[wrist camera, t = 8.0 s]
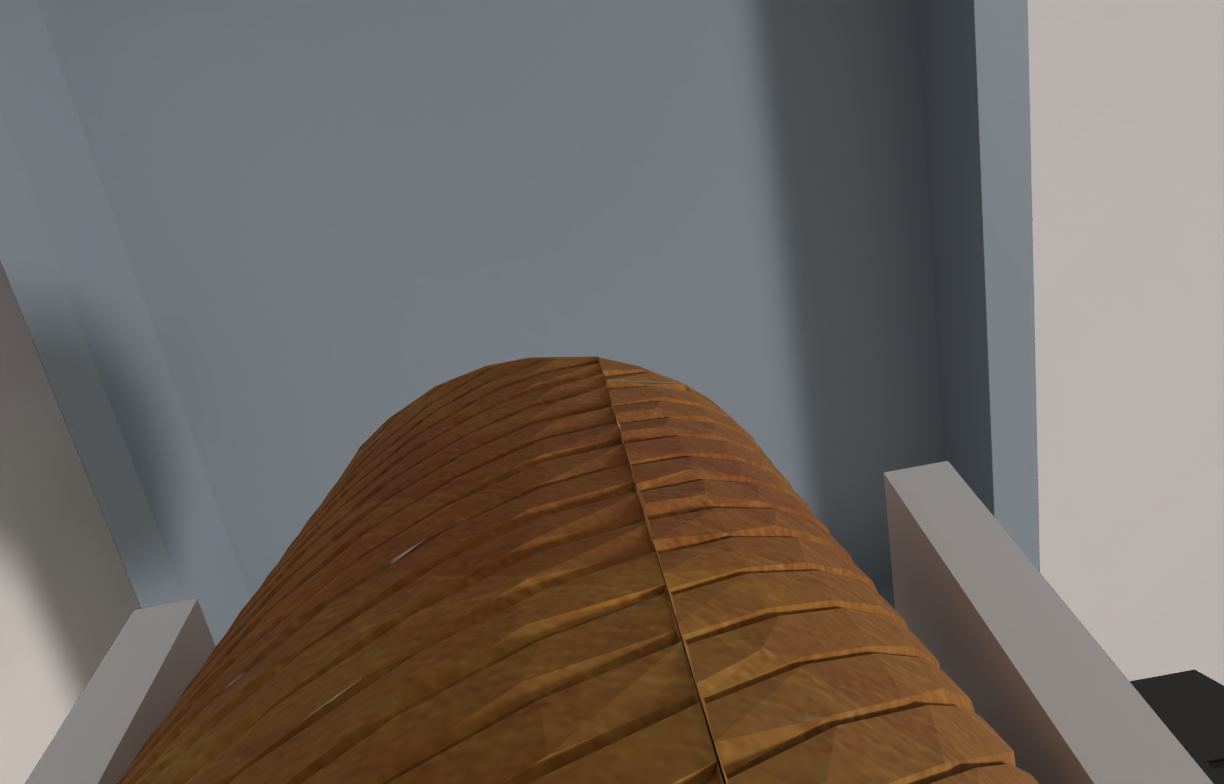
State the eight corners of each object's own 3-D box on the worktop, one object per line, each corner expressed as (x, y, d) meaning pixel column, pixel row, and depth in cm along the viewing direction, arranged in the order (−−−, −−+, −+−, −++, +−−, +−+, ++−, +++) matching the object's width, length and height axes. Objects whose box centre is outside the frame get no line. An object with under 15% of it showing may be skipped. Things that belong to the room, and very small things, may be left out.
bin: (-26, -80, 22) (-141, -88, 18) (939, -261, 22) (1020, -306, 18) (262, 703, 29) (222, 810, 26) (978, 572, 29) (1041, 659, 26)
